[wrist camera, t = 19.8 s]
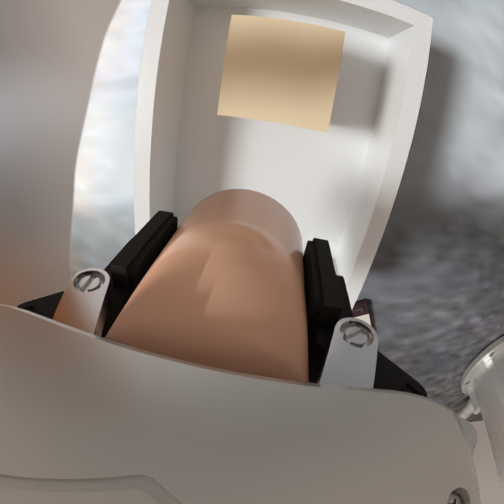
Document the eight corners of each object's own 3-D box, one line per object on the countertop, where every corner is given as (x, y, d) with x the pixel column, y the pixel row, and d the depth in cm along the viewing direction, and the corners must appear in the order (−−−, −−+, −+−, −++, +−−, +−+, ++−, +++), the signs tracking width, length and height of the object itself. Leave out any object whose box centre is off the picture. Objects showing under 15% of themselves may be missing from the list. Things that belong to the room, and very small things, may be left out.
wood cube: (317, 123, 16) (327, 132, 12) (236, 109, 16) (217, 114, 12) (330, 48, 14) (345, 31, 9) (246, 35, 14) (231, 14, 10)
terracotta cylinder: (287, 303, 13) (280, 448, 7) (181, 283, 13) (121, 413, 7) (315, 202, 11) (343, 349, 5) (184, 179, 11) (77, 293, 5)
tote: (342, 267, 22) (352, 309, 18) (164, 233, 22) (137, 268, 18) (400, 32, 13) (433, 18, 8) (187, -3, 13) (157, -26, 9)
